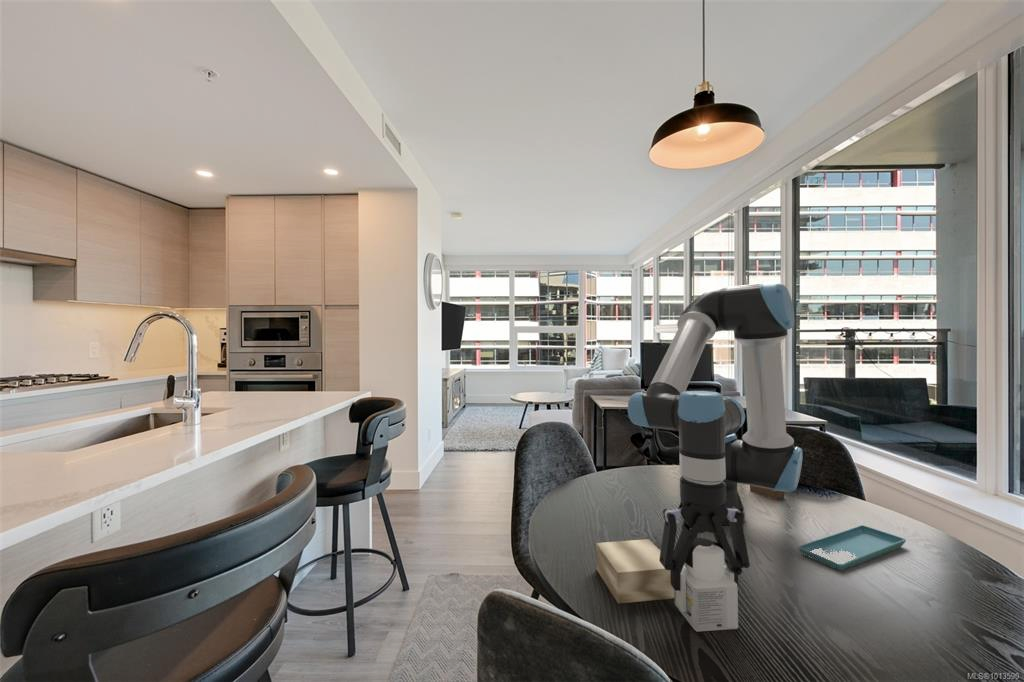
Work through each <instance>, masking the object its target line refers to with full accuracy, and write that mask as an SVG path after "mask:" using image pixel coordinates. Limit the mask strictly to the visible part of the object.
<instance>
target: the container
mask: <svg viewBox="0 0 1024 682" xmlns="http://www.w3.org/2000/svg"><path fill="white" fill-rule="evenodd" d="M682 570H683V572H684V573H685V574H686V606H687V612H682V611H681V609H680V608H679V607H678V605H677V604H676V591H675V590H674V598H673V599H674V605H675V607H676V608H677V609H678V610H679V612H680V613H681V614H682V616H683V617H684V618H685V620H686V621H687V622H688V624H689V625H690V626H691V627H692V628H693V630H694V631H696V632H697V633H698V632H710V631H725V630H737V629H739V602H738V601H739V600H738V599H739V598H738V596H739V595H738V594H739V593H738V589H737V583H735V582H734V581H733V580H732V579H731V578H730V577H729V576H728V575H727V574H725V573H724V572H725V568H724V549H723V548H722V547H721V546H720V545H719V544H718V543H717V542H716V541H714V540H712V539H710V538H709V539H708V538H705V537H697V538H696V539H694V541H693V543H692V546H691V548H690V551H689V553H688V556H687V558H686V561H685V563H684V566H683V569H682Z"/></svg>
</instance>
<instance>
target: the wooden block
mask: <svg viewBox="0 0 1024 682" xmlns="http://www.w3.org/2000/svg"><path fill="white" fill-rule="evenodd" d="M749 491H750V492H753V493H755V494H758V495H761V496H764V497H767V498H769V499H772V500H774V499H775V500H779V499H784V498H785V492H784V491H777V490H776V491H774V490H771V489H766V488H761V487H756V486H751V485H749Z"/></svg>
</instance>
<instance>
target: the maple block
mask: <svg viewBox="0 0 1024 682" xmlns="http://www.w3.org/2000/svg"><path fill="white" fill-rule="evenodd" d="M595 544H596V545H595V546H596V570H597V571H596V572H598V574H599V575H600V577H601V578H602V580H603V582H604V584H605V585H606V587H607V588H608V590H609V591H610V593H611V594H612V596H613V597H614V599H615V601H616V602H617V604H626V603H628V604H629V603H635V602H636V603H637V602H647V601H658V600H669V599H674V588H673V587H672V585H671V575H670V570H666V569H665V568H664V567H663V565H662V564H661V562H660V561H659V559H660V552H661V549H659V548H658V547H657V545H655V544H654V543H653V542H652V541H651V539H649V538H647V539H646V538H644V539H635V540H634V539H633V540H631V539H630V540H620V541H607V542H606V541H605V542H596V543H595Z"/></svg>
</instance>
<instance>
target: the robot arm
mask: <svg viewBox="0 0 1024 682" xmlns="http://www.w3.org/2000/svg"><path fill="white" fill-rule="evenodd" d="M794 309H795V308H794V304H793V301H792V297H791V293H790V291H789V290H788V287H787V286H786V284H785V285H784V284H783V283H782V282H760V283H759V282H758V283H750V284H744V285H743V284H742V285H733V286H726V287H725V286H722V287H716V288H713V289H710V290H707V291H705V292H704V293H702V294H701V295H699V296H698V297H696V298H695V299H693V300H692V301H691V302H690V303H689V304H688V305H687V306H686V307H685V308H684V309H683V311H682V312H681V314H680V315H679V318H678V320H677V324H676V325H677V331H676V333H675V335H674V337H673V339H672V341H671V343H670V345H669V346H668V348H667V351H666V352H665V354H664V357H663V358H662V360H661V362H660V364H659V366H658V369H657V370H656V372H655V374H654V377H653V378H652V381H650V384H649V386H648V388H647V389H646V391H645V392H644V391H641V392H638V391H636V392H635V393H633V394H631V395H630V397H629V399H628V404H627V416H628V417H629V420H630V422H631V423H632V424H634V425H637V426H640V427H644V428H648V429H661V430H667V431H669V430H670V431H677V432H678V438H679V439H678V440H679V450H678V451H679V473H680V477H679V496H680V498H679V499H680V503H679V505H678V507H677V508H676V509H672V510H671V509H670V510H669V509H668V508H664V509H662V510H663V511H662V514H663V520H664V524H663V525H664V526H663V532H662V539H661V547H660V551H661V552H660V559H659V561H660V562H661V564H662V565H663V567H664V568H665V569H666V570H670V575H671V585H672V587H673V588H674V590H675V591H676V604H677V605H678V607H679V608H680V609H681V611H682V612H687V606H686V574H685V573H684V572H683V570H682V569H683V566H684V563H685V561H686V558H687V556H688V553H689V551H690V548H691V546H692V543H693V541H694V539H696V538H698V536H699V534H703V533H706V532H707V533H711V534H712V535H713V536H714V537H713V538H714V539H715V542H716V543H718V544H719V545H720V546H721V547H722V548H723V549H724V560H725V562H726V564H727V566H726V565H724V568H725V572H724V573H725V574H727V575H728V576H729V577H730V578H731V579H732V580H733V581H734V582H735V583H737V590H738V589H739V575H741V574H742V573H743V569H749V568H750V565H751V564H750V560H749V553H748V547H747V543H746V537H745V531H744V528H743V527H744V526H743V525H744V522H745V521H746V510H745V508H744V505H743V502H742V499H741V497H740V494H739V491H738V484H742V485H747V486H750V485H751V486H756V487H761V488H766V489H771V490H774V491H776V490H777V491H784V493H785V492H786V493H793V492H794V491H796V489H797V487H798V484H799V480H800V477H801V472H802V464H803V455H804V454H803V449H802V447H799V446H795V440H794V438H793V437H792V436H791V435H790V434H789V433H787V423H786V409H785V408H786V407H785V391H784V375H783V361H782V359H783V358H782V345H781V344H782V341H784V340H785V339H786V337H788V330H790V329H793V328H794V327H795V321H796V320H795V310H794ZM723 331H724V332H725V331H728V332H731V331H733V334H734V337H733V338H734V339H735V340H736V341H737V342H738V343H740V345H741V355H742V367H743V380H744V392H745V394H744V395H745V408H746V410H745V409H744V407H743V406H742V404H741V403H740V402H739V401H738V400H737V399H735V398H732V397H730V396H726V395H725V396H724V395H722V393H720V392H717V391H709V390H687V388H688V386H689V384H690V381H691V379H692V377H693V374H694V372H695V369H696V367H697V365H698V363H699V360H700V358H701V357H702V356H701V355H702V354H703V351H704V349H705V347H706V345H707V342H708V341H709V340H711V339H712V338H713V337H714V336H715V334H716V333H717V332H723ZM745 411H746V412H745ZM745 413H746V414H745ZM745 419H746V420H745ZM745 421H746V422H747V431H746V432H745V433H744V434H743V435H742V437H741V439H738V436H737V434H736V433H737V432H738V431H739V429H740V428H741V427H742V426H743V425H744V423H745ZM680 517H681V518H682V519H683V523H682V525H681V532H680V534H679V537H678V539H677V542H676V538H677V537H676V536H677V530H678V526H677V524H679V523H680ZM723 526H728V527H729V531H730V537H731V542H732V548H733V550H732V548H731V545H730V543H729V540H728V538H727V536H726V535H727V533H726V531H725V530H724V527H723ZM675 544H676V545H675Z"/></svg>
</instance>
